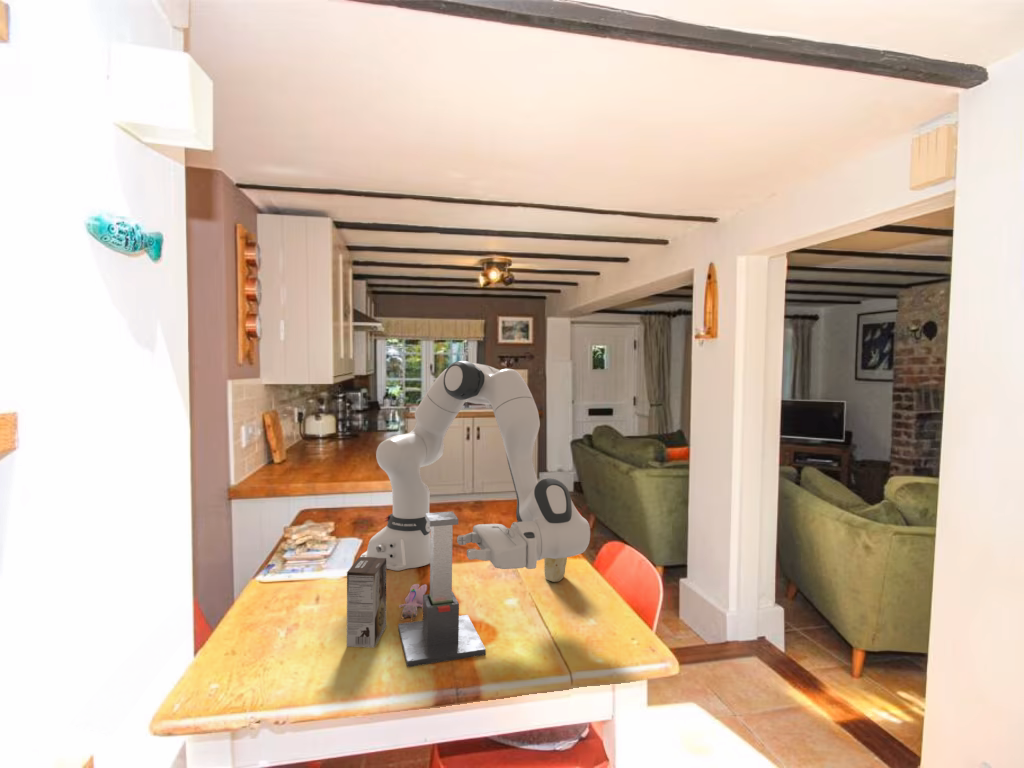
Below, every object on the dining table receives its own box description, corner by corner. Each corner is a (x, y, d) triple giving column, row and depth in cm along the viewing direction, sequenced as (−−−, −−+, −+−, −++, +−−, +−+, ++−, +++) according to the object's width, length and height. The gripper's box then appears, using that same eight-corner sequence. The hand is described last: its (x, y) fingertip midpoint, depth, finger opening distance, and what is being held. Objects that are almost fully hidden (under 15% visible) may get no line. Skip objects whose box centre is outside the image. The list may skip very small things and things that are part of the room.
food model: (565, 586, 146) (567, 513, 145) (541, 584, 147) (542, 511, 146) (568, 572, 155) (569, 504, 155) (545, 570, 156) (546, 503, 156)
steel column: (428, 621, 111) (430, 520, 111) (424, 609, 117) (425, 513, 116) (457, 617, 113) (458, 518, 112) (451, 605, 119) (452, 511, 118)
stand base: (407, 667, 105) (407, 621, 105) (398, 629, 120) (398, 588, 120) (485, 654, 110) (486, 610, 110) (467, 619, 125) (468, 580, 125)
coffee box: (358, 626, 121) (359, 556, 121) (387, 627, 121) (387, 556, 121) (345, 647, 112) (345, 571, 112) (375, 648, 112) (376, 572, 111)
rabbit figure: (420, 628, 124) (433, 591, 139) (419, 604, 123) (433, 570, 137) (393, 626, 124) (409, 590, 139) (392, 603, 123) (409, 569, 138)
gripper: (508, 515, 130) (452, 519, 126) (538, 541, 111) (473, 547, 106) (508, 541, 130) (452, 546, 126) (538, 571, 111) (473, 579, 106)
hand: (462, 547), depth 116 cm, fingers open, 8 cm apart
